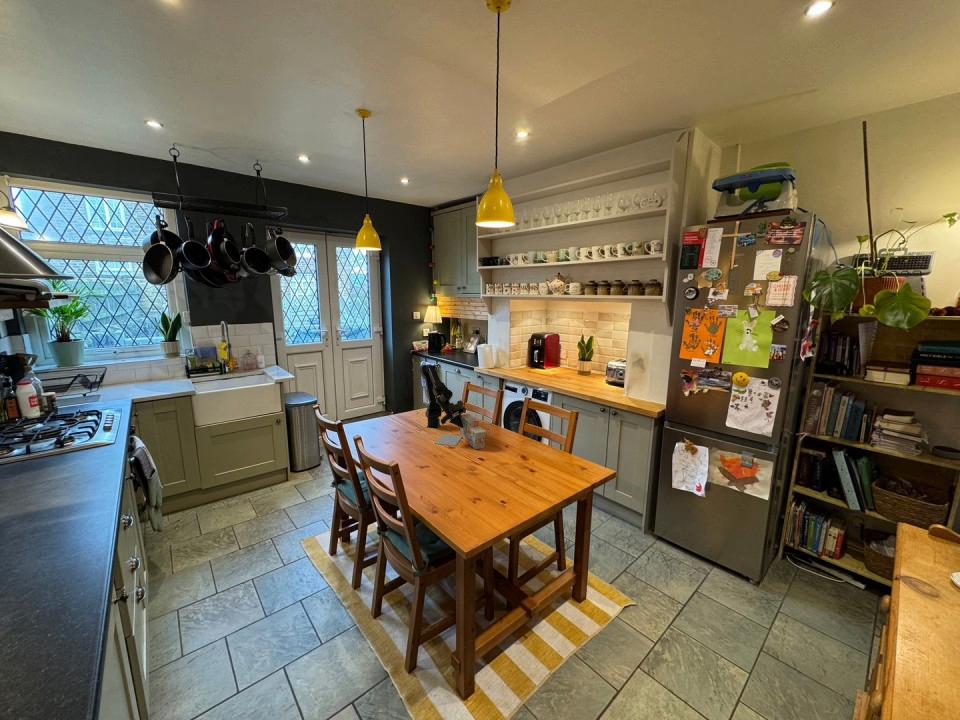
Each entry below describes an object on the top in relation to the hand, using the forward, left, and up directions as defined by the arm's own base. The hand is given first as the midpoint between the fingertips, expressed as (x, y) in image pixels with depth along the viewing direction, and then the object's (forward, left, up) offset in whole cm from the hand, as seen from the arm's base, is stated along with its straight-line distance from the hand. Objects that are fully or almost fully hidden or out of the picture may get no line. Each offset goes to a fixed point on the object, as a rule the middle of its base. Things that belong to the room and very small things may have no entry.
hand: (462, 427), depth 213 cm
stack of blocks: (+5, 0, -8) cm, 9 cm away
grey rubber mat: (-8, -1, -8) cm, 11 cm away
